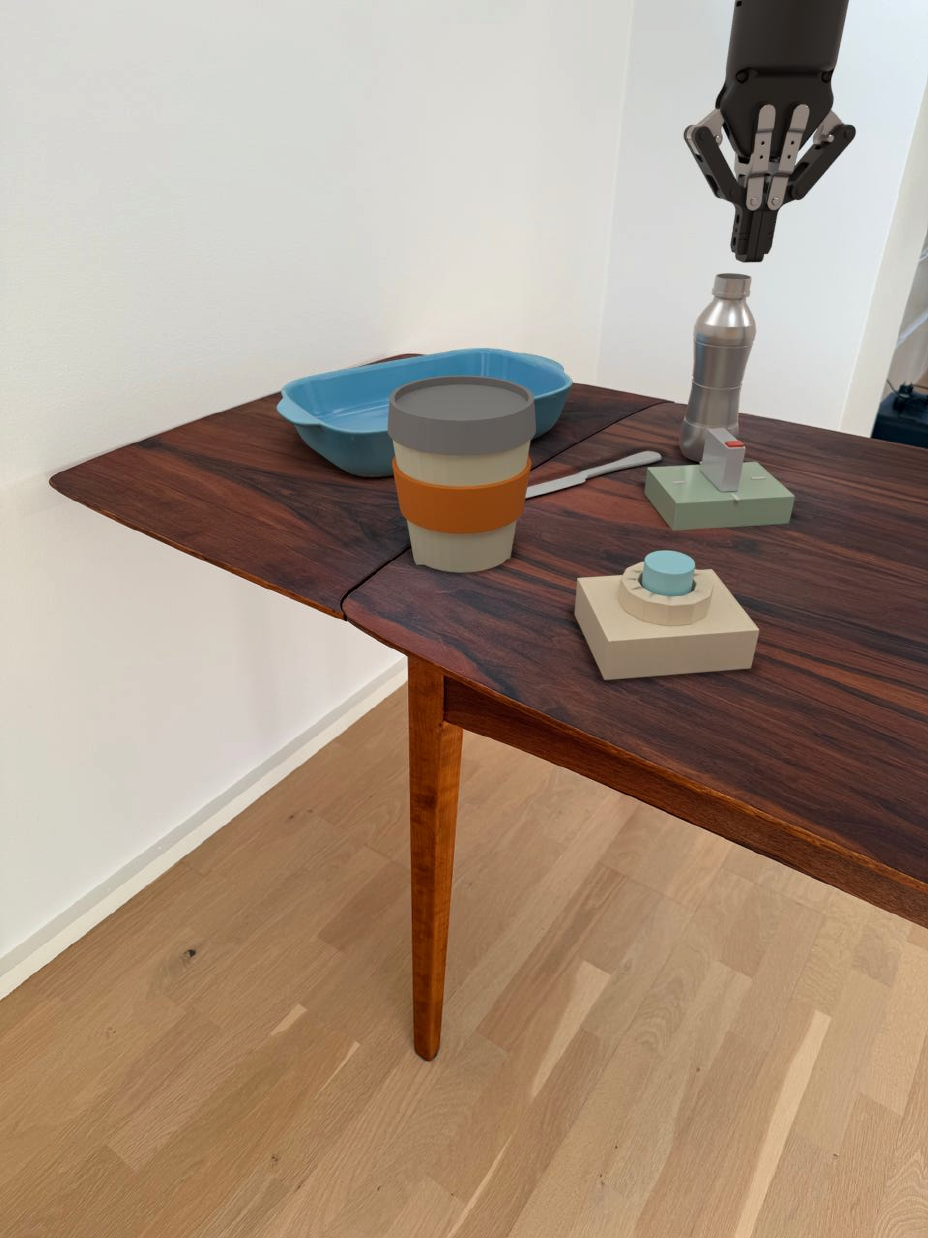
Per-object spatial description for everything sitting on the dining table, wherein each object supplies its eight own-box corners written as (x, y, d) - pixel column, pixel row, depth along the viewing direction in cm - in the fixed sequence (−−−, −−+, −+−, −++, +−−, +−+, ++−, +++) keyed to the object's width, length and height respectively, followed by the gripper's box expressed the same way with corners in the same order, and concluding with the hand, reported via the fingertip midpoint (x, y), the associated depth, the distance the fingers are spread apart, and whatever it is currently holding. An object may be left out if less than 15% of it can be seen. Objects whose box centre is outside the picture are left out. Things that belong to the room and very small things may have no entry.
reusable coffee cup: (558, 556, 78) (568, 396, 70) (460, 606, 71) (459, 433, 63) (463, 514, 86) (463, 365, 78) (366, 555, 78) (354, 395, 70)
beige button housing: (704, 613, 70) (715, 548, 67) (749, 677, 62) (764, 608, 59) (573, 622, 69) (578, 557, 65) (603, 689, 61) (611, 619, 58)
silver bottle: (709, 474, 95) (740, 285, 84) (663, 456, 99) (687, 274, 88) (746, 461, 98) (780, 277, 87) (700, 444, 102) (727, 268, 92)
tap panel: (750, 486, 92) (755, 458, 90) (790, 525, 84) (797, 496, 82) (642, 492, 91) (646, 464, 89) (673, 532, 82) (677, 502, 81)
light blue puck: (681, 572, 64) (685, 548, 63) (698, 596, 61) (702, 571, 60) (635, 575, 64) (638, 551, 63) (650, 600, 61) (653, 575, 60)
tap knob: (700, 470, 88) (707, 426, 85) (716, 469, 88) (724, 425, 85) (720, 492, 83) (728, 445, 81) (738, 491, 83) (746, 445, 81)
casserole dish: (331, 504, 88) (325, 438, 84) (253, 440, 104) (245, 382, 100) (604, 436, 105) (609, 378, 101) (501, 390, 121) (502, 338, 117)
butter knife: (668, 456, 98) (650, 449, 100) (496, 504, 87) (480, 494, 89) (667, 460, 98) (649, 452, 100) (496, 508, 87) (480, 498, 89)
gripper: (855, -4, 62) (804, 251, 71) (681, -6, 61) (652, 254, 70) (914, -14, 56) (850, 267, 65) (721, -17, 54) (684, 271, 64)
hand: (748, 260), depth 67 cm, fingers closed
